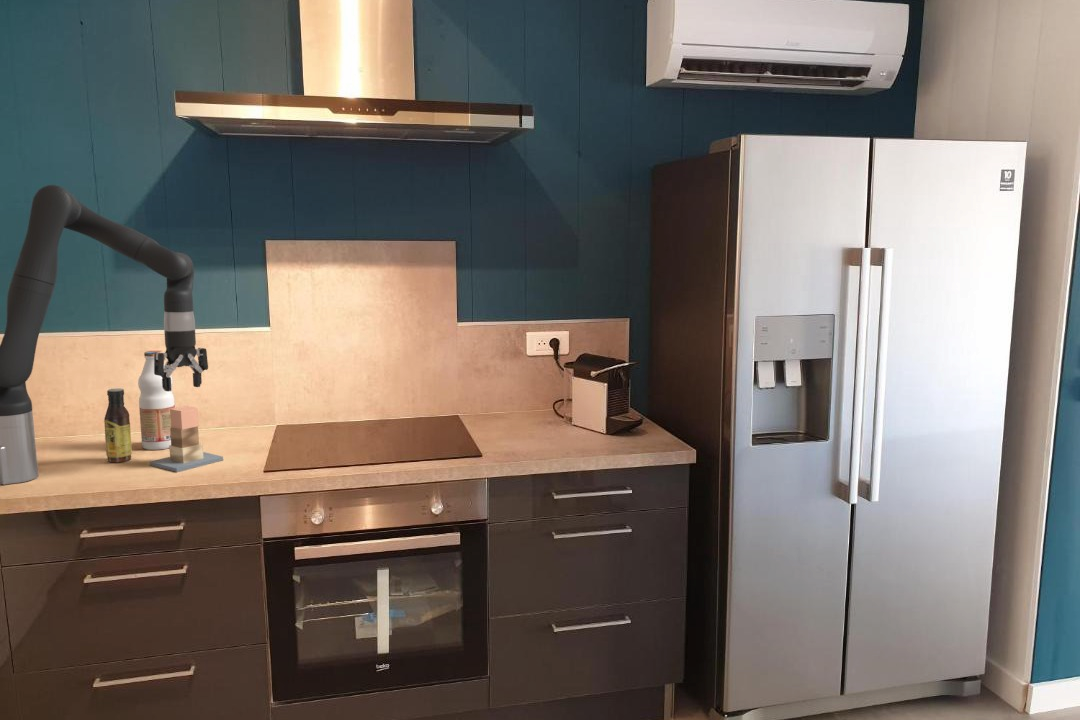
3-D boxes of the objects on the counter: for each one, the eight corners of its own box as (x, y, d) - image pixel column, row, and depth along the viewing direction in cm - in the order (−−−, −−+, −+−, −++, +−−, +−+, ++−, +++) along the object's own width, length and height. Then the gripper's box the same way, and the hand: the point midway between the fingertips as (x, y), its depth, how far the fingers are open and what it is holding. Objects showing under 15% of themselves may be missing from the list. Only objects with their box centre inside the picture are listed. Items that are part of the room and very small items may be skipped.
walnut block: (182, 448, 222) (181, 429, 221) (171, 445, 225) (170, 427, 224) (199, 444, 226) (198, 426, 225) (187, 441, 229) (186, 423, 228)
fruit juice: (140, 451, 237) (133, 354, 233) (143, 443, 246) (137, 350, 242) (176, 448, 240) (170, 353, 236) (178, 441, 249) (172, 348, 245)
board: (176, 472, 217) (176, 468, 217) (150, 465, 224) (149, 461, 224) (223, 460, 229) (223, 456, 229) (196, 453, 235) (196, 450, 235)
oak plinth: (183, 463, 222) (182, 448, 221) (170, 459, 225) (169, 445, 225) (203, 458, 227) (202, 443, 226) (190, 454, 230) (189, 440, 230)
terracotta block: (182, 429, 221) (180, 411, 221) (171, 427, 224) (169, 409, 223) (198, 426, 226) (197, 407, 225) (187, 423, 228) (186, 405, 228)
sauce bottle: (103, 460, 228) (98, 389, 225) (127, 456, 233) (122, 386, 230) (111, 465, 224) (106, 392, 221) (136, 460, 228) (131, 389, 225)
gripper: (163, 331, 213) (166, 394, 215) (212, 327, 224) (214, 386, 227) (146, 329, 217) (149, 391, 219) (195, 325, 229) (198, 383, 231)
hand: (182, 388), depth 223 cm, fingers open, 8 cm apart
